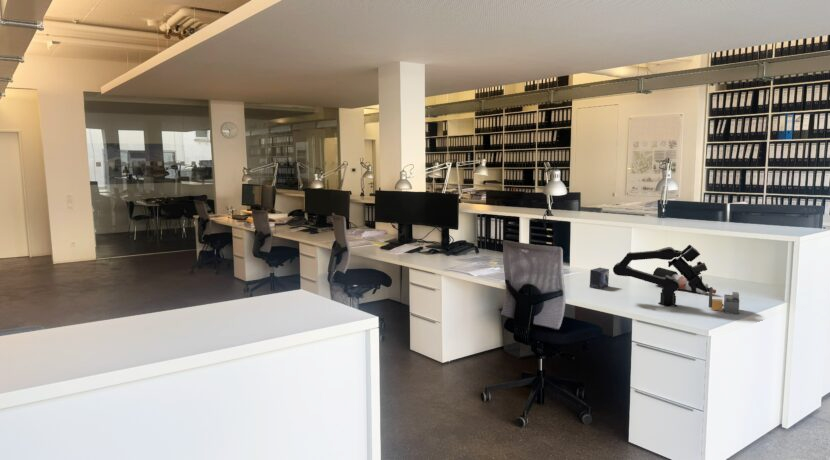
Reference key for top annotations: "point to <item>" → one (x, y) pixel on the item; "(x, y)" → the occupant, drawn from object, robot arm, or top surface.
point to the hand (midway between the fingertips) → (707, 291)
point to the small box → (599, 278)
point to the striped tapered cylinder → (679, 280)
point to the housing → (731, 303)
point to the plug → (714, 301)
